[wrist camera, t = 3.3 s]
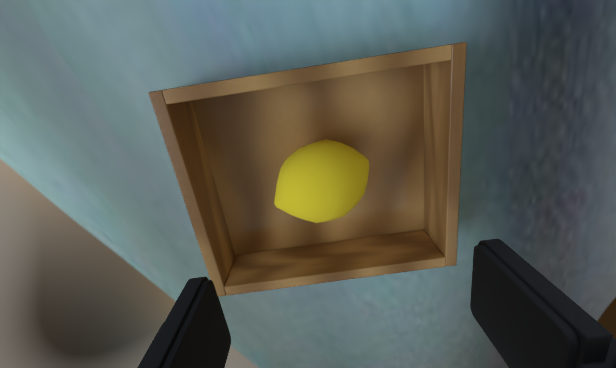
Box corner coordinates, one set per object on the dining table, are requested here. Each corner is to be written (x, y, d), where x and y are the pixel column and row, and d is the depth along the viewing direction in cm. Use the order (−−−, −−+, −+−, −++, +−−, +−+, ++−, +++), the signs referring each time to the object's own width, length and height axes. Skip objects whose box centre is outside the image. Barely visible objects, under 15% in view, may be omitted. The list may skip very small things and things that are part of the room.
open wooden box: (229, 260, 26) (216, 297, 22) (178, 87, 20) (147, 92, 16) (431, 233, 25) (456, 265, 21) (432, 47, 20) (467, 41, 16)
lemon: (346, 116, 21) (360, 131, 16) (373, 180, 23) (394, 211, 18) (260, 158, 22) (248, 185, 17) (293, 216, 24) (291, 255, 19)
